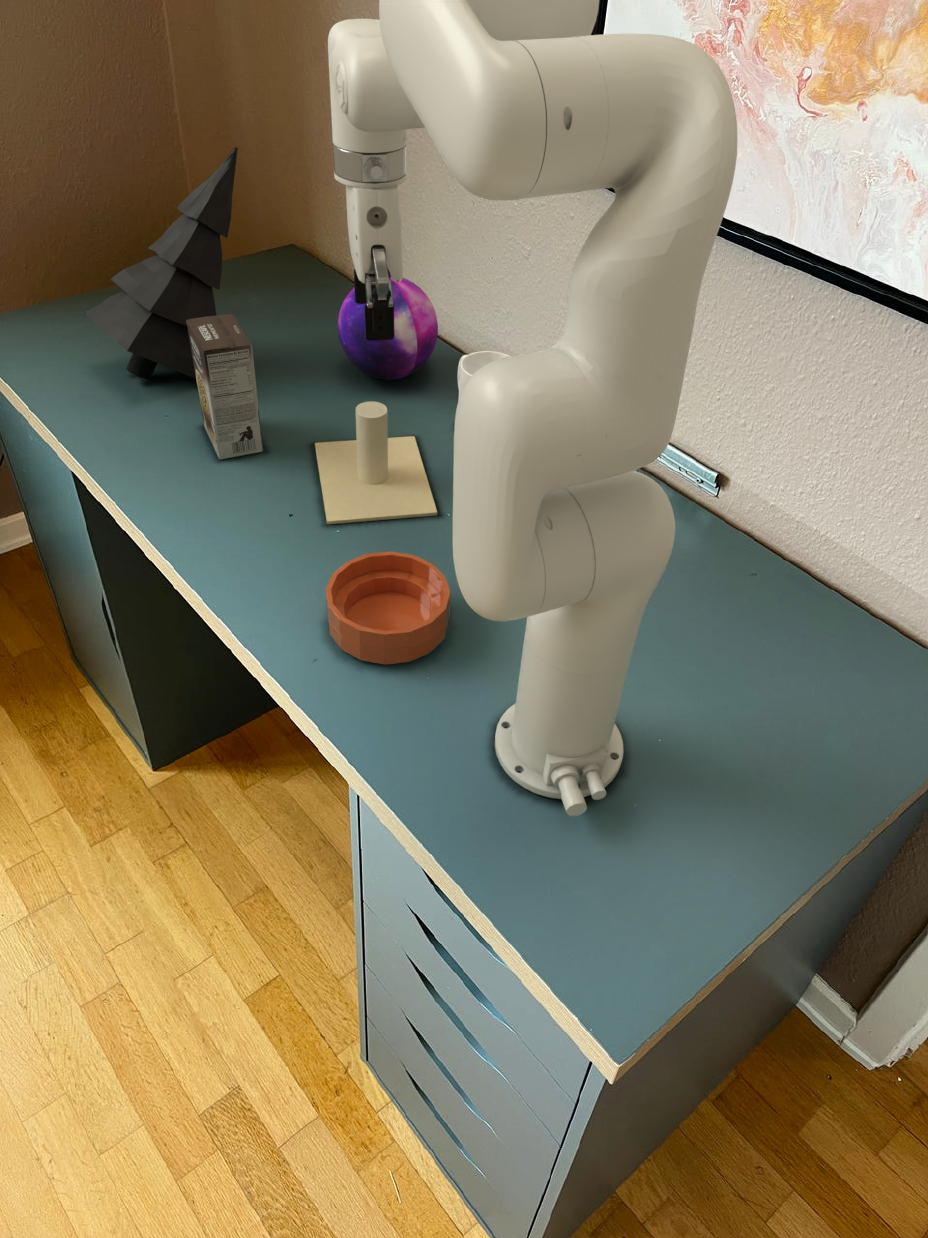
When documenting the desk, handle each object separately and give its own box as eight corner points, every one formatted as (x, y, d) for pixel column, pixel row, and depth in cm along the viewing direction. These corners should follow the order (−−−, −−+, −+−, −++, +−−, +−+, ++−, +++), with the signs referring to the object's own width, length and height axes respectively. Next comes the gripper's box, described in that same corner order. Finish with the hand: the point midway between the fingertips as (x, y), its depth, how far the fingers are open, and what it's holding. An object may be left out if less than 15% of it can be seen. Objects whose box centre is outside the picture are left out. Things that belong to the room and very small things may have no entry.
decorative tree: (202, 408, 139) (304, 187, 130) (115, 379, 128) (220, 133, 118) (157, 368, 147) (250, 157, 138) (71, 338, 135) (166, 104, 126)
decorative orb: (395, 341, 151) (395, 250, 141) (456, 378, 143) (460, 284, 133) (320, 368, 143) (314, 274, 133) (380, 408, 136) (379, 311, 125)
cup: (476, 450, 129) (481, 385, 122) (433, 410, 136) (435, 346, 129) (525, 436, 132) (532, 371, 125) (480, 397, 139) (485, 334, 132)
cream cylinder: (389, 483, 121) (389, 416, 114) (359, 485, 120) (357, 418, 114) (385, 466, 124) (385, 400, 117) (356, 468, 123) (353, 402, 116)
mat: (437, 515, 117) (437, 512, 117) (327, 524, 115) (327, 521, 115) (414, 438, 130) (414, 435, 130) (314, 445, 128) (314, 442, 127)
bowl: (458, 659, 99) (460, 626, 96) (335, 673, 97) (332, 640, 93) (436, 580, 108) (437, 547, 105) (323, 591, 106) (321, 557, 102)
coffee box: (202, 427, 130) (184, 318, 119) (247, 418, 132) (233, 311, 121) (218, 461, 124) (200, 349, 113) (265, 452, 126) (252, 342, 115)
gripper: (419, 188, 90) (418, 352, 101) (393, 137, 102) (394, 288, 114) (342, 190, 88) (350, 356, 100) (325, 138, 101) (334, 291, 112)
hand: (374, 320), depth 107 cm, fingers open, 9 cm apart
